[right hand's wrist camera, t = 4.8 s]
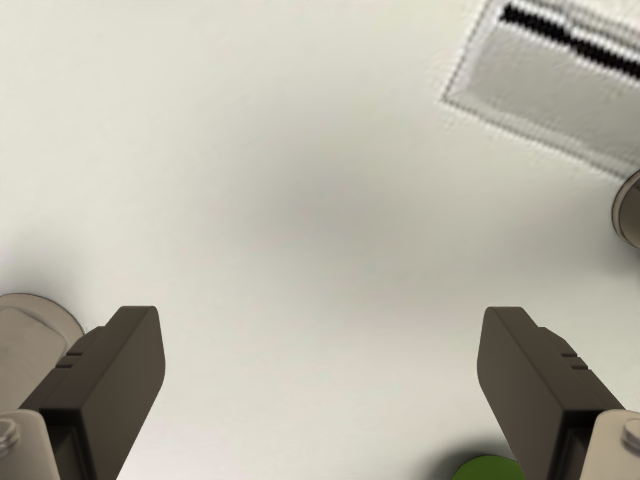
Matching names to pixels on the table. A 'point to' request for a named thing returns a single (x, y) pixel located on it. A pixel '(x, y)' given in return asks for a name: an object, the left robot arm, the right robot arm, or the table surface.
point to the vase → (489, 469)
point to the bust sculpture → (30, 344)
